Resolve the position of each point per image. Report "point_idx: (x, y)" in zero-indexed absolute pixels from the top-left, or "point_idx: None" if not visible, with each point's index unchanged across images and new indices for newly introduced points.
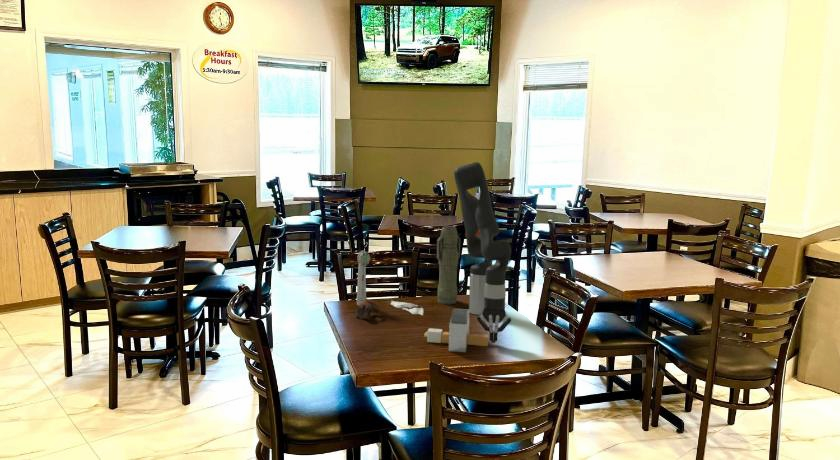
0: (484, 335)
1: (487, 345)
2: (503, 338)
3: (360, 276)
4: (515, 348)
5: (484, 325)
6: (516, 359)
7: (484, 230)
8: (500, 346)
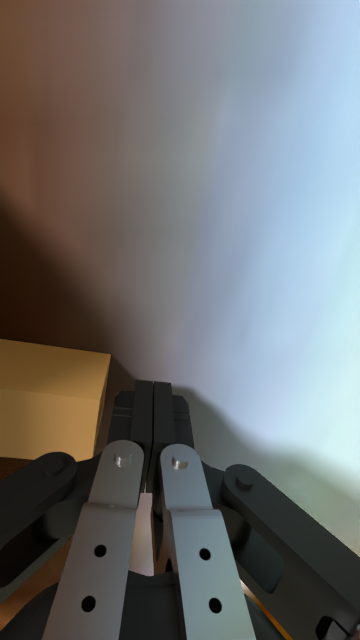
0: (57, 417)
1: (102, 412)
2: (280, 200)
3: None
4: (299, 436)
5: (7, 581)
6: None
7: None
8: (202, 408)
